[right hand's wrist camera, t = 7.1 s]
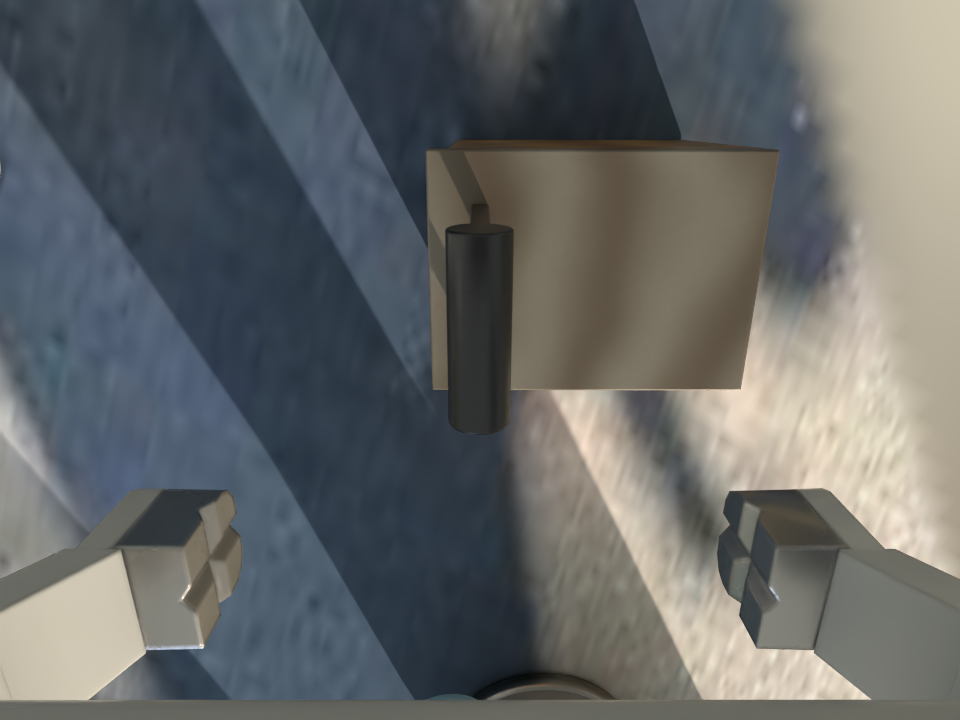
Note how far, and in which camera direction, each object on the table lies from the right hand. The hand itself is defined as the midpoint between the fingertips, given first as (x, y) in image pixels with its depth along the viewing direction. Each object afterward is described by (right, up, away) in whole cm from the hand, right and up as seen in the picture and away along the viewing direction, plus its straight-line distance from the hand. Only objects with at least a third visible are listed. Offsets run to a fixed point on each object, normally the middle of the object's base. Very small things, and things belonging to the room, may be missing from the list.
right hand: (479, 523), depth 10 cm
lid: (+5, +7, +17) cm, 19 cm away
